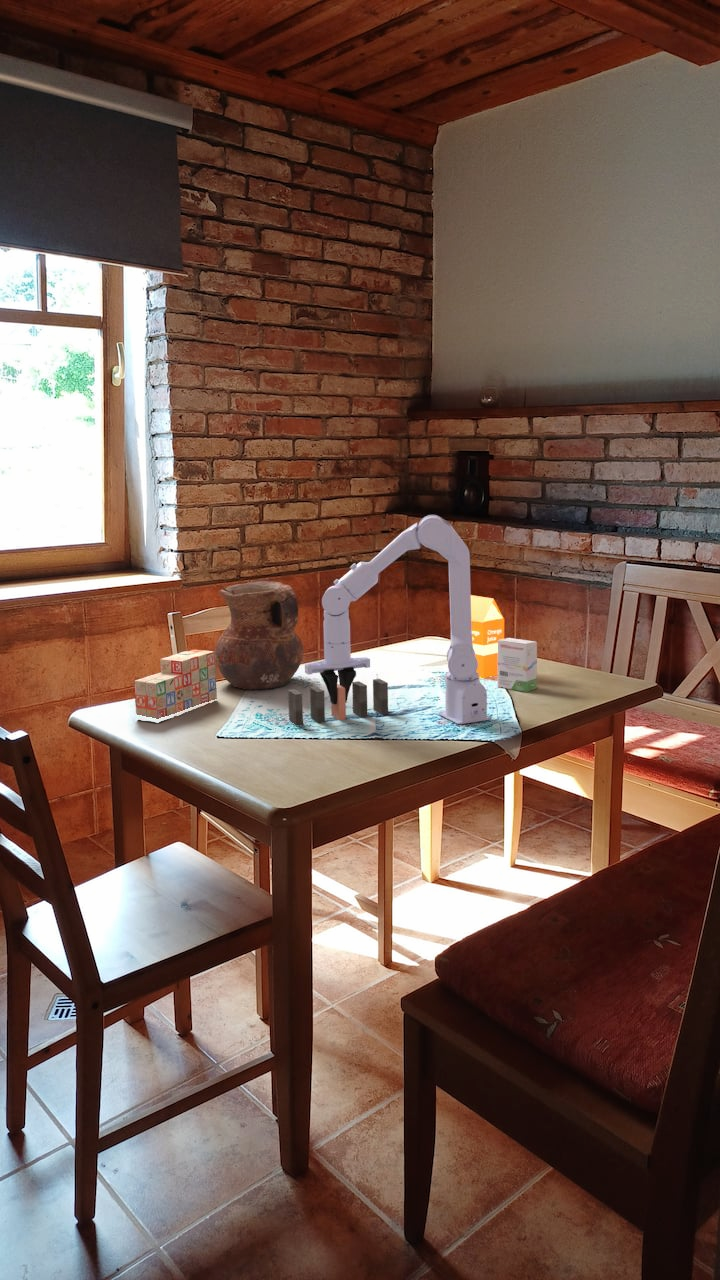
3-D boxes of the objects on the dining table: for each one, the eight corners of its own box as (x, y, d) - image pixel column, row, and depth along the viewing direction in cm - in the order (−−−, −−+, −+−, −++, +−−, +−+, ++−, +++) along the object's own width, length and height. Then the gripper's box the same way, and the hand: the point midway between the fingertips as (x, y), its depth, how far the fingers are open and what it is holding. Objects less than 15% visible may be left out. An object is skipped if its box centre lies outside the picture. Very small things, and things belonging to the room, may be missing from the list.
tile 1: (388, 713, 216) (387, 682, 215) (381, 714, 216) (381, 683, 214) (379, 708, 220) (379, 678, 219) (373, 709, 220) (372, 679, 218)
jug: (205, 693, 237) (200, 591, 233) (228, 673, 258) (224, 579, 253) (295, 694, 234) (291, 591, 229) (311, 674, 255) (308, 579, 250)
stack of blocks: (158, 724, 212) (154, 669, 209) (136, 721, 215) (132, 667, 212) (217, 701, 230) (215, 650, 228) (196, 698, 233) (193, 648, 231)
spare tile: (345, 719, 213) (345, 688, 211) (339, 720, 212) (338, 689, 211) (338, 714, 217) (337, 683, 215) (331, 715, 216) (330, 684, 215)
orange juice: (479, 668, 257) (479, 593, 253) (504, 674, 250) (505, 596, 247) (458, 673, 252) (458, 596, 248) (483, 679, 246) (483, 600, 242)
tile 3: (325, 722, 211) (324, 690, 209) (318, 723, 210) (317, 691, 209) (317, 717, 215) (316, 686, 213) (310, 718, 214) (309, 687, 213)
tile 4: (303, 725, 209) (302, 693, 207) (296, 726, 208) (295, 694, 207) (296, 720, 213) (295, 689, 211) (289, 721, 212) (288, 690, 211)
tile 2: (367, 716, 214) (366, 685, 213) (360, 717, 214) (360, 686, 212) (359, 711, 218) (358, 681, 217) (353, 712, 218) (352, 682, 216)
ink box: (537, 688, 235) (538, 640, 233) (526, 692, 232) (526, 644, 229) (508, 683, 241) (508, 636, 238) (496, 687, 237) (496, 639, 235)
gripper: (360, 635, 217) (361, 694, 220) (299, 641, 212) (301, 702, 214) (373, 640, 211) (374, 701, 214) (310, 647, 205) (312, 709, 208)
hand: (338, 702), depth 213 cm, fingers closed on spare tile, 2 cm apart
